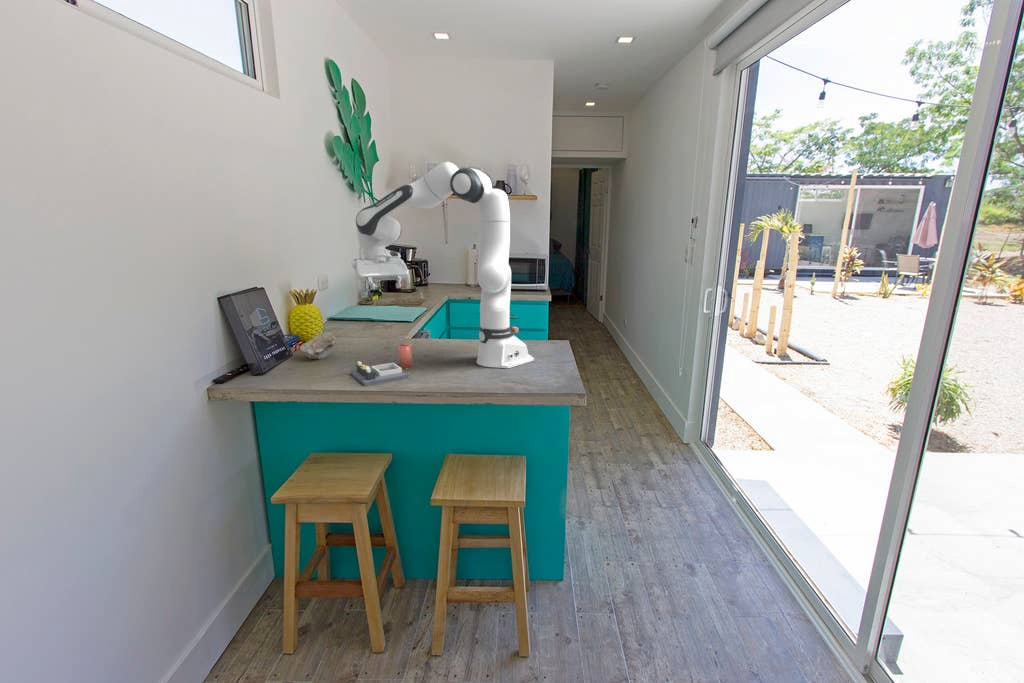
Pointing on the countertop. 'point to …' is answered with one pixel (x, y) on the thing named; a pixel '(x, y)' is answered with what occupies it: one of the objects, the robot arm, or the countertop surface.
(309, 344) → the stone
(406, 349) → the cap
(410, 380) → the countertop surface
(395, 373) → the panel
